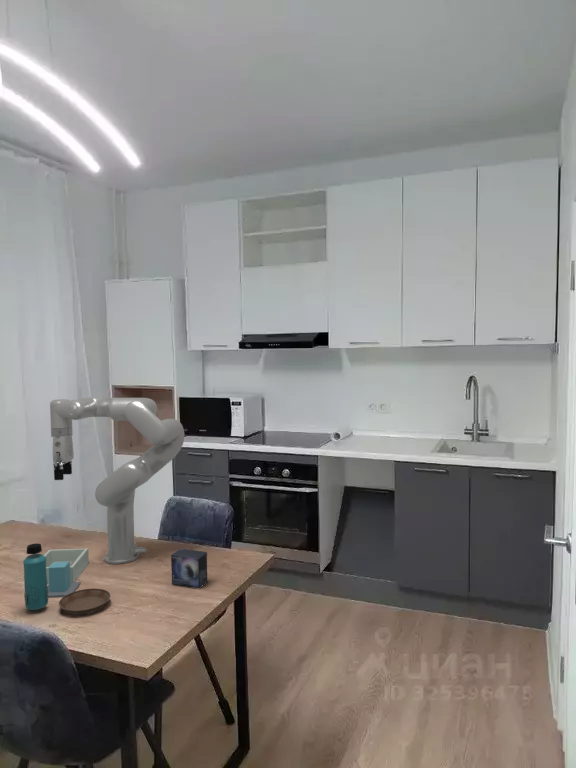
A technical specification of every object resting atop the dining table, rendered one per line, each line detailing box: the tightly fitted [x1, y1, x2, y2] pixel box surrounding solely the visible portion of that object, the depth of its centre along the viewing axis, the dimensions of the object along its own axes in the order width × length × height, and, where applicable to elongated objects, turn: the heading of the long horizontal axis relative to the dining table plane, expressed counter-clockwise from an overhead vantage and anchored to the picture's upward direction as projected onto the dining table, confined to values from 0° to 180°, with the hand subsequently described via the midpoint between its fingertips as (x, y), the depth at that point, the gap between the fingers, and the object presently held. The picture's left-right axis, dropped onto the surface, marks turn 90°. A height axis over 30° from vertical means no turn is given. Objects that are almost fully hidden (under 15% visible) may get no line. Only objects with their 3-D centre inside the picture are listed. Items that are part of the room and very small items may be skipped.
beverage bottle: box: [22, 542, 49, 611], centre depth 167 cm, size 6×7×20 cm
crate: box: [43, 548, 90, 585], centre depth 195 cm, size 14×18×6 cm
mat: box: [47, 581, 82, 599], centre depth 181 cm, size 10×10×1 cm
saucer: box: [58, 587, 111, 616], centre depth 170 cm, size 15×15×3 cm
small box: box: [170, 548, 208, 589], centre depth 186 cm, size 11×6×10 cm, turn 70°
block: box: [48, 561, 70, 592], centre depth 181 cm, size 5×5×8 cm
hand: (63, 477), depth 212 cm, fingers open, 9 cm apart
